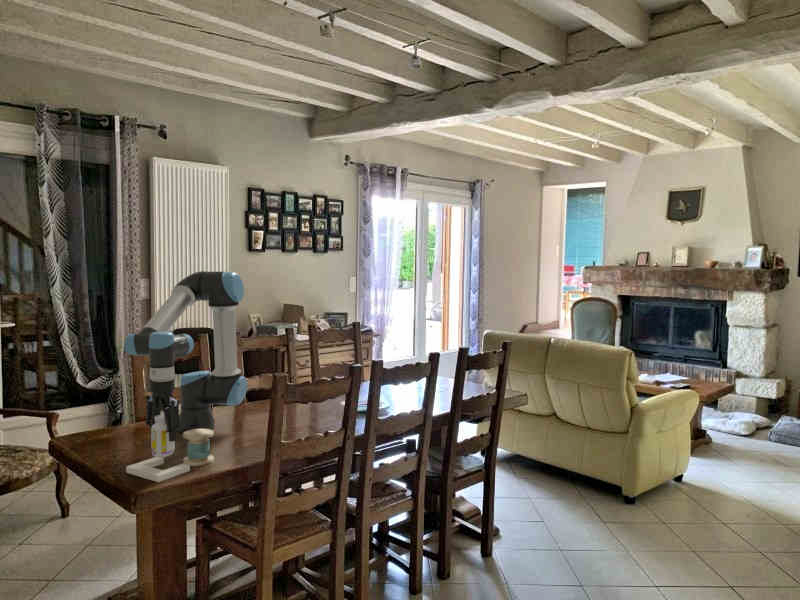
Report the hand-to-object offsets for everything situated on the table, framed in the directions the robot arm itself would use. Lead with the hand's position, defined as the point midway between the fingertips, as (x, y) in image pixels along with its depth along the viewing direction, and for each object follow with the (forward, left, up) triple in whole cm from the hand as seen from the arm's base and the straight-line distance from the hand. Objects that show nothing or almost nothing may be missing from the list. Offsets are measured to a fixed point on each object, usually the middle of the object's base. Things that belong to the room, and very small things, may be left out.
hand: (162, 448), depth 196 cm
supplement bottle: (0, 0, -2) cm, 2 cm away
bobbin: (-12, +3, -7) cm, 14 cm away
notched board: (+2, 0, -7) cm, 7 cm away
